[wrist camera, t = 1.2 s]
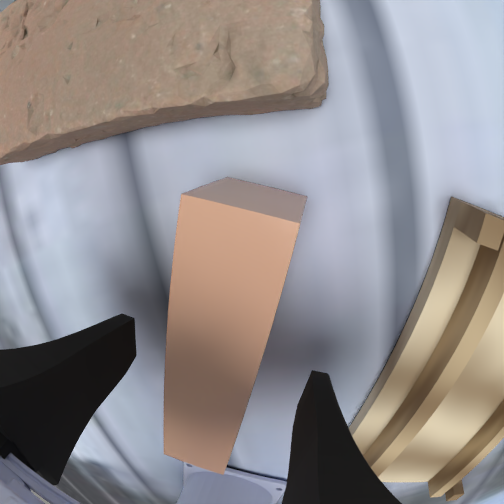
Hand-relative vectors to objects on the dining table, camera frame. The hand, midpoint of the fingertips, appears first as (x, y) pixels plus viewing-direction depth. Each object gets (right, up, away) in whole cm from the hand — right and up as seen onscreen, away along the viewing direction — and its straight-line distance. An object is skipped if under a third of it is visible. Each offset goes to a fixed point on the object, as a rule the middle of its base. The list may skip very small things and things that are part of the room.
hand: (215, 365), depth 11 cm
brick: (-4, +14, 0) cm, 14 cm away
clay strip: (+1, +1, +3) cm, 3 cm away
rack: (+13, -3, +1) cm, 13 cm away
